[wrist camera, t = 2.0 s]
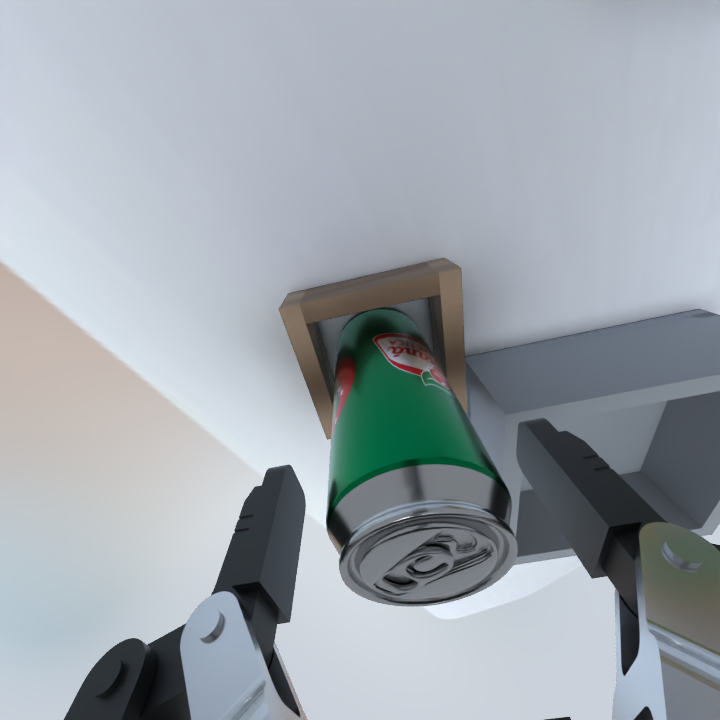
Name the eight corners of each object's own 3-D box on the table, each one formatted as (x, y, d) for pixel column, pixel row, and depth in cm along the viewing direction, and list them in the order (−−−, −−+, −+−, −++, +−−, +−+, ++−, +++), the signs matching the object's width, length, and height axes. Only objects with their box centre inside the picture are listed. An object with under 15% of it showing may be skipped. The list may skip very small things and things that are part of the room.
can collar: (287, 293, 16) (278, 309, 13) (444, 257, 15) (461, 268, 13) (329, 413, 20) (327, 439, 18) (453, 388, 19) (466, 412, 17)
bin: (463, 357, 18) (505, 414, 13) (699, 309, 17) (837, 352, 12) (469, 496, 25) (498, 567, 20) (638, 466, 24) (712, 534, 19)
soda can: (438, 341, 17) (575, 556, 7) (380, 394, 19) (421, 629, 9) (377, 286, 16) (440, 464, 5) (319, 349, 17) (280, 578, 7)
